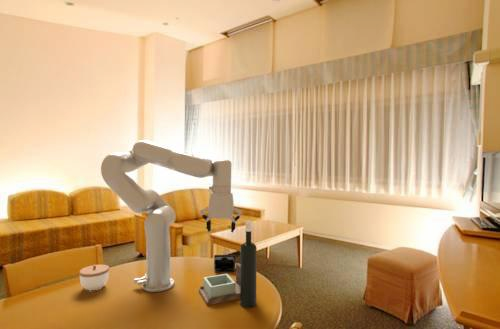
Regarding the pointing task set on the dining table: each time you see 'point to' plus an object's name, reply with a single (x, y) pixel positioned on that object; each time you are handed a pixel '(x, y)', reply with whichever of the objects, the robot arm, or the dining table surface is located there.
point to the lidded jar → (94, 276)
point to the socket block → (219, 285)
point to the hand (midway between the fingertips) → (220, 231)
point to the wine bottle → (248, 270)
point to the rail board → (224, 297)
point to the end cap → (224, 263)
